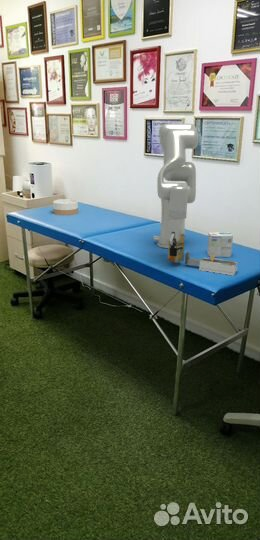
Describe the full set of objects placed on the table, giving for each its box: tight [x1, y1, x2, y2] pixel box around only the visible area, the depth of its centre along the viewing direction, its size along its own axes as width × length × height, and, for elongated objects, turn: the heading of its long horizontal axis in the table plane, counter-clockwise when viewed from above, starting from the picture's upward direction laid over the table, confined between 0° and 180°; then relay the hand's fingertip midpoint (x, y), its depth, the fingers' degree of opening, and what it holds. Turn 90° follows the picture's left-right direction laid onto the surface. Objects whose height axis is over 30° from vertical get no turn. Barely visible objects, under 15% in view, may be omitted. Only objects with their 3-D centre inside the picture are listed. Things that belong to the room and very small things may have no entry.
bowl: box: [52, 198, 79, 216], centre depth 282 cm, size 17×17×8 cm
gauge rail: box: [198, 257, 238, 277], centre depth 174 cm, size 15×7×4 cm, turn 66°
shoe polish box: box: [167, 233, 186, 263], centre depth 180 cm, size 5×5×12 cm
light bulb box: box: [206, 231, 234, 258], centre depth 194 cm, size 11×7×11 cm, turn 92°
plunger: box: [184, 251, 216, 267], centre depth 177 cm, size 12×3×5 cm, turn 66°
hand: (175, 253), depth 181 cm, fingers closed on shoe polish box, 6 cm apart
